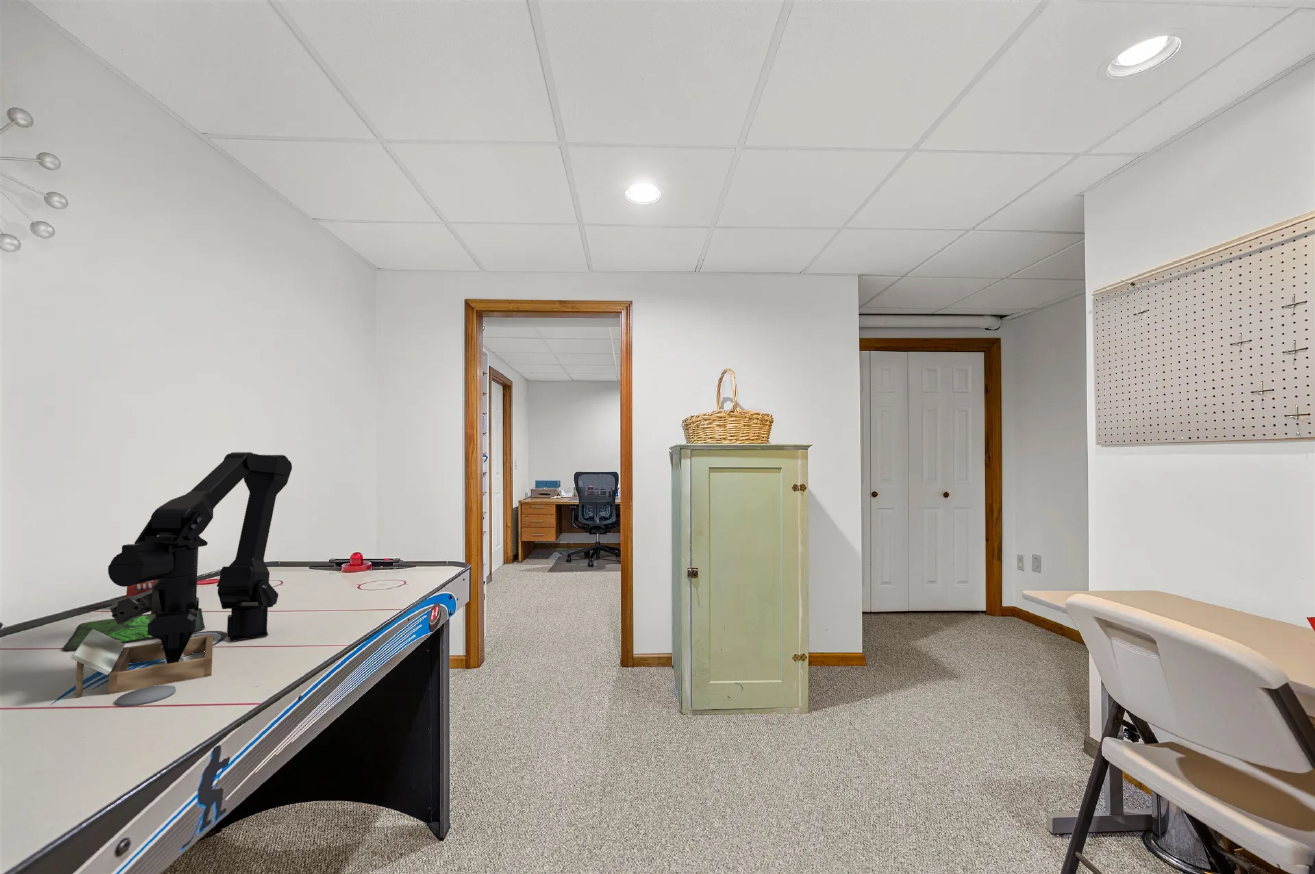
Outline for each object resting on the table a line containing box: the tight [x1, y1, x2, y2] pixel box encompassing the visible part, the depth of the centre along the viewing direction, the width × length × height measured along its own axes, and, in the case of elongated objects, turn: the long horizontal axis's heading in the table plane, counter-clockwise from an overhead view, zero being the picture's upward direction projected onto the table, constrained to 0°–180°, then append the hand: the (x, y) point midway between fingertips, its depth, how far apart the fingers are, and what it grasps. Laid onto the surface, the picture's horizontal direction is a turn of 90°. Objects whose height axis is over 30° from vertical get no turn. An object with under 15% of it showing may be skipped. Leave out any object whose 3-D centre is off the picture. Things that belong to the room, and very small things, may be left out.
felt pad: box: [115, 684, 177, 707], centre depth 89 cm, size 7×7×1 cm
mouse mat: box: [62, 607, 206, 652], centre depth 126 cm, size 27×22×1 cm
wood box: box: [70, 629, 214, 699], centre depth 99 cm, size 18×17×7 cm
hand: (173, 661), depth 101 cm, fingers closed on wristwatch, 6 cm apart
